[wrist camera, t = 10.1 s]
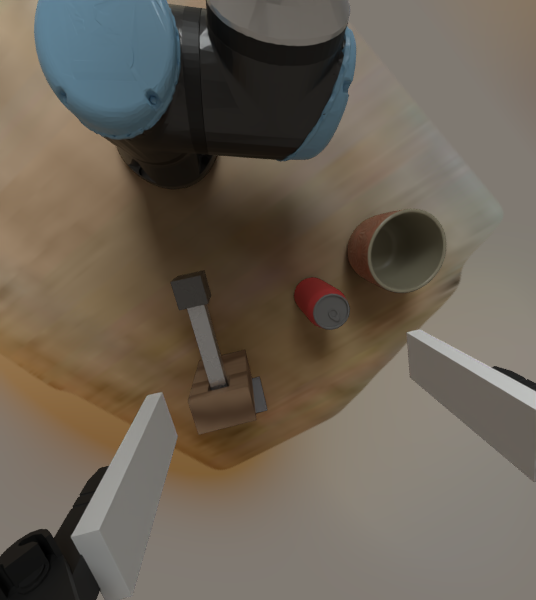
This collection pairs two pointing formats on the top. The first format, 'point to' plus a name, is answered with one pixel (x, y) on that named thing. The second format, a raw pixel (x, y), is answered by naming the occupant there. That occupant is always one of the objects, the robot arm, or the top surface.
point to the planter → (398, 249)
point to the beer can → (322, 303)
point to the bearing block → (223, 396)
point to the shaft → (201, 323)
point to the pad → (258, 395)
